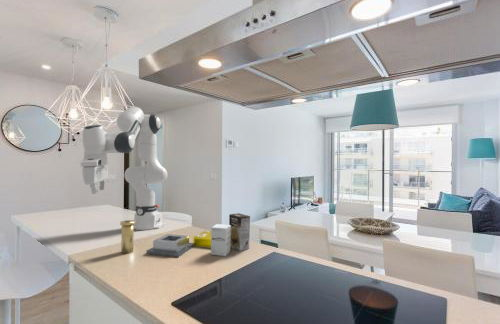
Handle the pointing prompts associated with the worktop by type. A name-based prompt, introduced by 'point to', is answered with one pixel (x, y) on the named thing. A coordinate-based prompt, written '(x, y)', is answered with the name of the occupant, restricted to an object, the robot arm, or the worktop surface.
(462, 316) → the worktop surface
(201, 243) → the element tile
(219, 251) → the supplement box
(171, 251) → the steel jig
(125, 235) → the brass bushing
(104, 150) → the robot arm
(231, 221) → the coffee box
